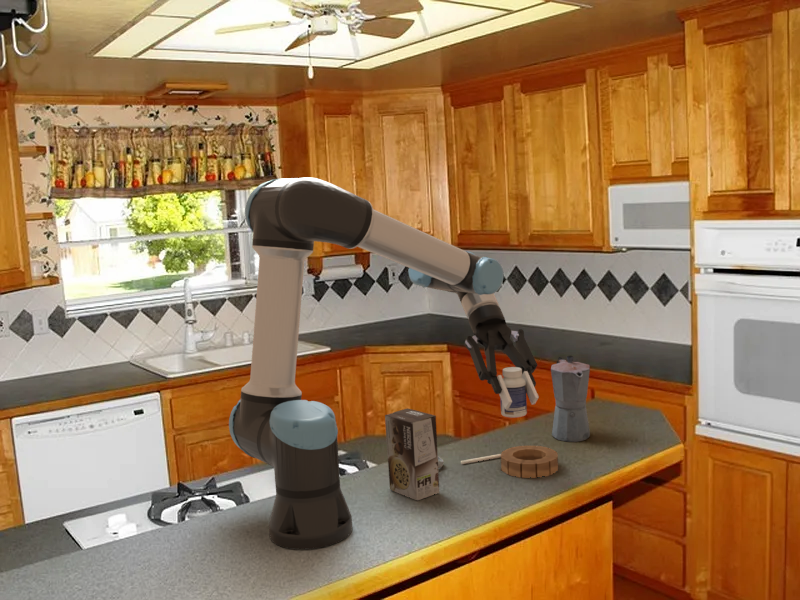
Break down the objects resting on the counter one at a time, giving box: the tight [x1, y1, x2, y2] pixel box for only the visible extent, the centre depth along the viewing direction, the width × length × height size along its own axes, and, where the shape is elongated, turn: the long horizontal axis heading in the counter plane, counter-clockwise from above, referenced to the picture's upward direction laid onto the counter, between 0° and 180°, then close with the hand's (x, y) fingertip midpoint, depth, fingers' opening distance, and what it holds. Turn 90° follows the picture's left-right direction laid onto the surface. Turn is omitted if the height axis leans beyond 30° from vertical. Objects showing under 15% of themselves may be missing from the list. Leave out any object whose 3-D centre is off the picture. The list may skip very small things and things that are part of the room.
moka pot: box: [550, 354, 591, 443], centre depth 197 cm, size 10×15×20 cm, turn 14°
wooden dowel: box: [460, 453, 501, 465], centre depth 186 cm, size 16×1×1 cm, turn 110°
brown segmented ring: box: [500, 445, 559, 479], centre depth 178 cm, size 12×12×3 cm
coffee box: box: [384, 408, 440, 501], centre depth 168 cm, size 9×6×16 cm
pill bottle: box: [500, 366, 528, 418], centre depth 173 cm, size 5×5×10 cm
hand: (521, 403), depth 169 cm, fingers closed on pill bottle, 5 cm apart
